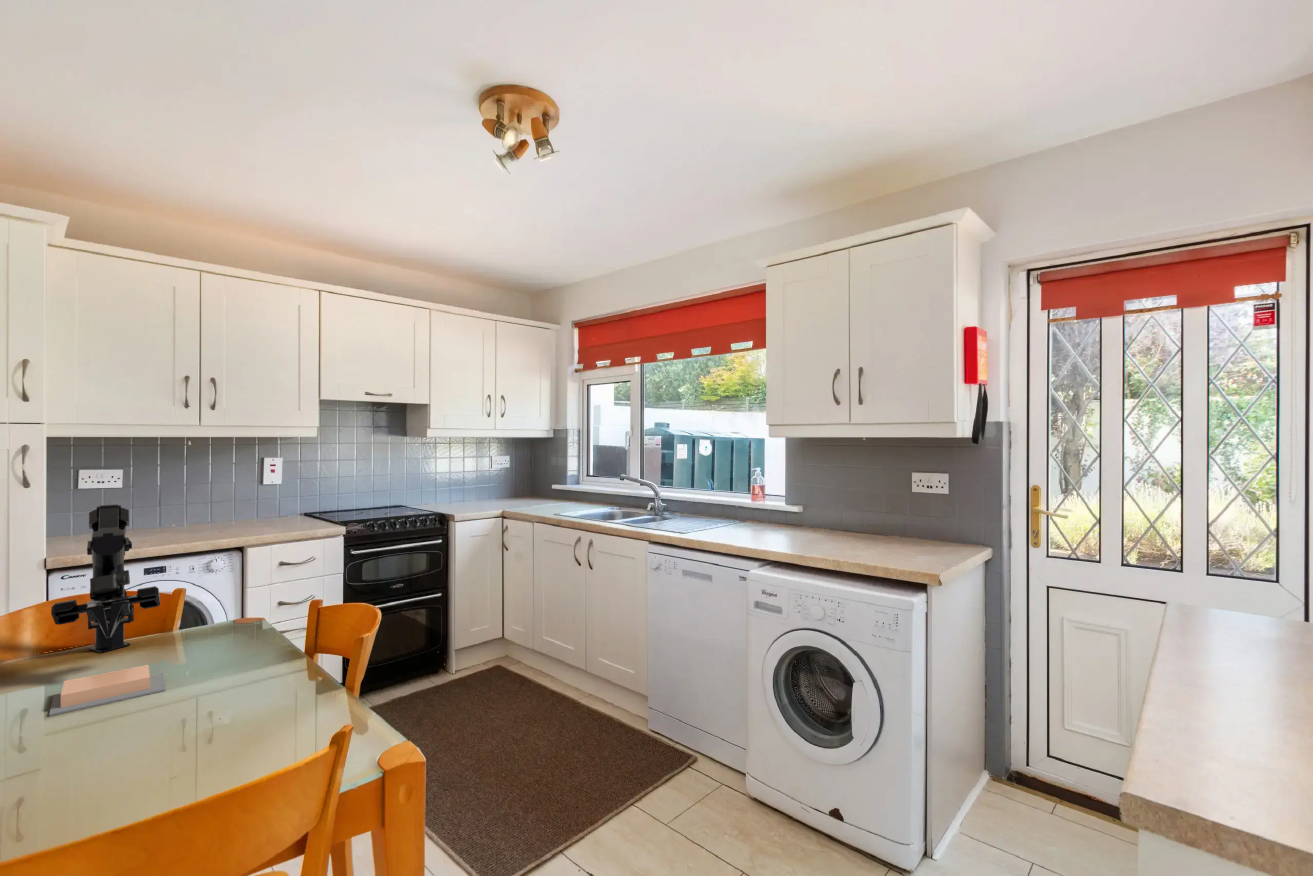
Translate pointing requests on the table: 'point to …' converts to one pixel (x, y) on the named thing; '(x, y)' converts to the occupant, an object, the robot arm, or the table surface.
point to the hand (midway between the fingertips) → (108, 637)
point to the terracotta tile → (105, 685)
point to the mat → (155, 687)
